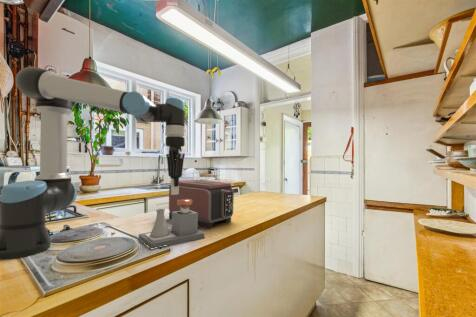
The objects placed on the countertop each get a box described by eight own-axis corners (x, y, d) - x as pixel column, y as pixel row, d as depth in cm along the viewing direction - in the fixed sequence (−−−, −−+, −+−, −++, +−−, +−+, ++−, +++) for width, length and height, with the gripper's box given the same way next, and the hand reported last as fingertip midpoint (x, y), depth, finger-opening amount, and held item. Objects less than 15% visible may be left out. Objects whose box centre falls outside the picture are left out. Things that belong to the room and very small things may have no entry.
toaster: (215, 231, 108) (216, 186, 108) (166, 219, 129) (167, 181, 130) (240, 223, 124) (241, 183, 124) (192, 213, 145) (193, 179, 145)
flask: (172, 233, 96) (173, 208, 97) (163, 238, 89) (164, 211, 90) (156, 231, 98) (157, 207, 98) (146, 236, 91) (147, 210, 91)
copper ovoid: (181, 222, 96) (181, 201, 96) (174, 219, 101) (174, 199, 101) (195, 220, 100) (195, 200, 100) (187, 217, 105) (188, 198, 105)
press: (151, 249, 84) (151, 221, 85) (138, 239, 95) (139, 214, 95) (204, 237, 98) (204, 213, 99) (188, 230, 109) (188, 208, 109)
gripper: (191, 136, 95) (190, 195, 94) (177, 138, 105) (176, 192, 105) (173, 134, 90) (172, 197, 90) (160, 137, 100) (159, 193, 100)
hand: (174, 194), depth 97 cm, fingers closed
